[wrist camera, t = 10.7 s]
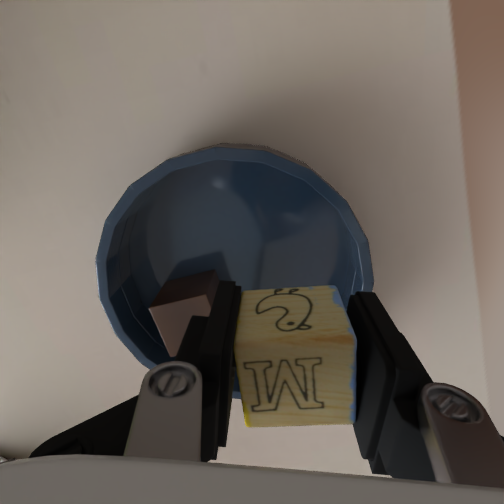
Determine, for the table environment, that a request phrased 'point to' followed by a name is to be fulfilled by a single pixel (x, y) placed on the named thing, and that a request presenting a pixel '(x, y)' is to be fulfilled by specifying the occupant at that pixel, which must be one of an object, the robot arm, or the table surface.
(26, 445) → the table surface
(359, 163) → the table surface
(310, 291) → the alphabet block
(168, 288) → the walnut cube
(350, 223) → the bowl
